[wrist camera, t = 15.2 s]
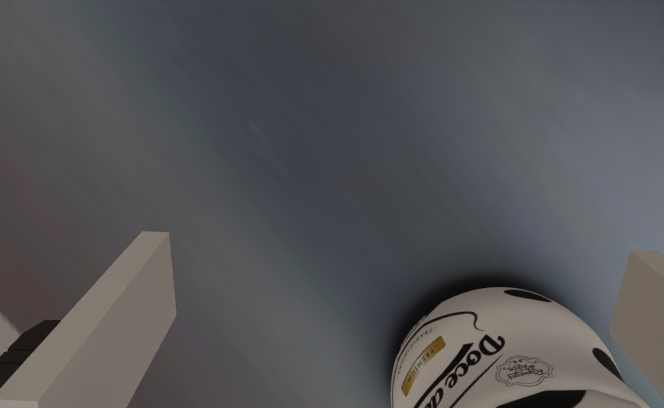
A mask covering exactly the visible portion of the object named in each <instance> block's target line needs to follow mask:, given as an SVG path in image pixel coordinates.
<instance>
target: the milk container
mask: <svg viewBox="0 0 664 408" xmlns="http://www.w3.org/2000/svg"><path fill="white" fill-rule="evenodd" d="M391 408H650V407H649V406H648V405H647V404H646V403H645V402H644V401H643V400H642V399H641V398H640V397H639V396H638V395H636V394H635V393H634V392H633V391H632V390H631V389H630V388H629V387H628V386H627V385H626V384H625V383H624V381H623V379H622V377H621V374H620V372H619V370H618V368H617V365H616V363H615V361H614V359H613V357H612V356H611V354H610V352H609V350H608V349H607V347H606V346H605V345H604V343H603V342H602V341H601V339H600V338H599V337H598V335H597V334H596V333H595V332H594V331H593V330H592V329H591V328H590V327H589V326H588V325H587V324H586V323H585V322H584V321H583V320H581V319H580V318H579V317H578V316H576V315H575V314H574V313H572V312H571V311H569V310H568V309H567V308H565V307H563V306H562V305H560V304H558V303H556V302H555V301H553V300H550V299H548V298H546V297H544V296H542V295H540V294H537V293H534V292H531V291H527V290H523V289H518V288H509V287H492V288H482V289H476V290H472V291H469V292H466V293H462V294H460V295H457V296H454V297H452V298H449V299H447V300H445V301H443V302H442V303H440V304H439V305H437V306H436V307H435V308H433V309H432V310H430V311H429V312H428V313H427V314H426V315H424V316H423V317H422V318H421V319H420V320H419V321H418V322H417V323H416V324H415V325H414V327H413V328H412V329H411V330H410V332H409V333H408V334H407V336H406V337H405V339H404V341H403V342H402V344H401V346H400V349H399V351H398V353H397V356H396V359H395V363H394V367H393V373H392V379H391Z"/></svg>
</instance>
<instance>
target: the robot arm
mask: <svg viewBox="0 0 664 408" xmlns="http://www.w3.org/2000/svg"><path fill="white" fill-rule="evenodd" d="M175 317H176V304H175V293H174V282H173V271H172V260H171V249H170V238H169V232H145V231H142V232H141V233H140V234H139V236H138V237H137V238H136V239H135V240H134V241H133V242H132V243H131V244H130V245H129V247H128V248H127V249H126V250H125V251H124V252H123V253H122V254H121V255H120V257H119V258H118V259H117V260H116V261H115V262H114V263H113V264H112V265H111V267H110V268H109V269H108V270H107V271H106V272H105V273H104V274H103V275H102V276H101V278H100V279H99V280H98V281H97V282H96V283H95V284H94V285H93V286H92V288H91V289H90V290H89V291H88V292H87V293H86V294H85V295H84V296H83V298H82V299H81V300H80V301H79V302H78V303H77V304H76V305H75V306H74V307H73V309H72V310H71V311H70V312H69V313H68V314H67V315H66V316H65V317H64V319H63V320H45V321H43V322H41V323H39V324H38V325H36V326H34V327H33V328H31V329H29V330H28V331H26V332H24V333H23V334H22V335H21V336H20V337H19V338H18V339H17V340H16V341H15V342H14V343H13V344H12V345H11V346H10V347H9V348H8V351H7V352H4V353H3V354H2V355H1V356H0V408H126V407H127V405H128V404H129V402H130V400H131V398H132V396H133V394H134V392H135V391H136V389H137V387H138V385H139V383H140V381H141V380H142V378H143V376H144V374H145V372H146V370H147V368H148V367H149V365H150V363H151V361H152V359H153V357H154V356H155V354H156V352H157V350H158V348H159V346H160V344H161V343H162V341H163V339H164V337H165V335H166V333H167V332H168V330H169V328H170V326H171V324H172V322H173V321H174V319H175ZM608 332H609V334H610V335H611V336H612V337H613V338H614V340H615V341H616V342H617V343H618V344H619V346H620V347H621V348H622V349H623V351H624V352H625V353H626V354H627V355H628V357H629V358H630V359H631V360H632V361H633V363H634V364H635V365H636V366H637V367H638V369H639V370H640V371H641V372H642V373H643V375H644V376H645V377H646V378H647V379H648V381H649V382H650V383H651V384H652V385H653V387H654V388H655V389H656V390H657V391H658V393H659V394H660V395H661V396H662V397H663V399H664V256H663V255H662V254H661V253H659V252H658V251H637V250H631V251H630V254H629V258H628V262H627V265H626V269H625V273H624V276H623V280H622V283H621V287H620V291H619V294H618V298H617V302H616V305H615V309H614V313H613V316H612V320H611V323H610V327H609V331H608Z"/></svg>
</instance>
